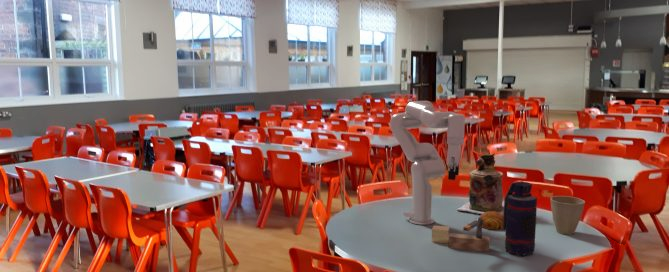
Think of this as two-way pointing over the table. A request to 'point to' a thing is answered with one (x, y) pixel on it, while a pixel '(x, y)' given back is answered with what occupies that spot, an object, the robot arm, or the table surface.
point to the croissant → (492, 220)
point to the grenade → (520, 219)
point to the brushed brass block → (440, 234)
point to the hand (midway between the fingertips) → (453, 177)
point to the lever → (473, 224)
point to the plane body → (470, 241)
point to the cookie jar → (485, 188)
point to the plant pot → (566, 213)
